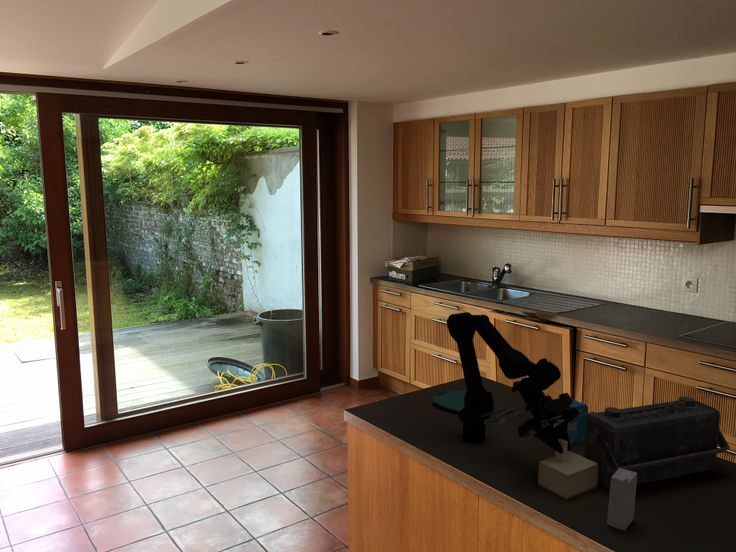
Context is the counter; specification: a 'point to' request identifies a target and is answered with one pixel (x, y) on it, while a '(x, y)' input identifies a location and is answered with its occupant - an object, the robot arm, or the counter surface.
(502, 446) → the counter surface
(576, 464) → the lid
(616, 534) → the counter surface
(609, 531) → the counter surface
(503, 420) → the cutlery set
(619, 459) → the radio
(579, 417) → the data package
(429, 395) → the counter surface
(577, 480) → the carton
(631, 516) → the skincare box
